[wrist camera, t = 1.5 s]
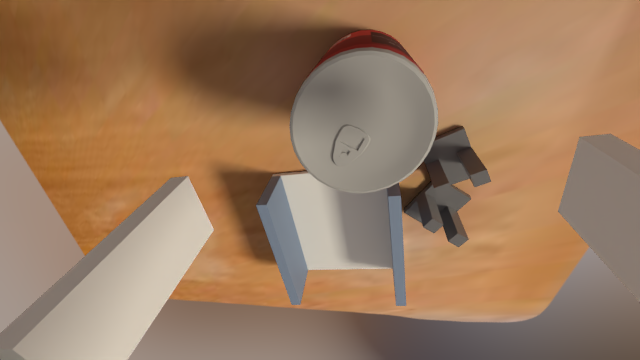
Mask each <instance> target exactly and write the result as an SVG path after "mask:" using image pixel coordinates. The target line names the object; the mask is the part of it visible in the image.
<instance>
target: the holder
mask: <svg viewBox="0 0 640 360" xmlns="http://www.w3.org/2000/svg"><path fill="white" fill-rule="evenodd" d="M256 207H257V209H258V212H259V215H260V218H261V220H262V223H263V226H264V229H265V232H266V234H267V237H268V240H269V243H270V245H271V248H272V251H273V254H274V257H275V259H276V262H277V265H278V268H279V270H280V273H281V276H282V279H283V281H284V284H285V287H286V290H287V293H288V295H289V298H290V301H291V304H292V305H300V304H301V299H302V295H303V290H304V286H305V281H306V277H307V272H308V270H325V269H388V268H393V276H394V287H395V298H396V306H406V292H405V271H404V249H403V228H402V206H401V193H400V187H399V183H397V184H395V185H393V186H391V187H389V188H386V189H382V190H379V191H375V192H368V193H350V192H344V191H339V190H336V189H334V188H331V187H328V186H326V185H325V184H323V183H321V182H320V181H318V180H317V179H315V178H314V177H313V176H312V175H311V174H310V173H308V171H302V172H291V173H280V174H273V175H272V177H271V179H270V181H269V183H268V184H267V186H266V188H265V190H264V192H263V194H262V195H261V197H260V199H259V201H258V203H257V205H256Z"/></svg>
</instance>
